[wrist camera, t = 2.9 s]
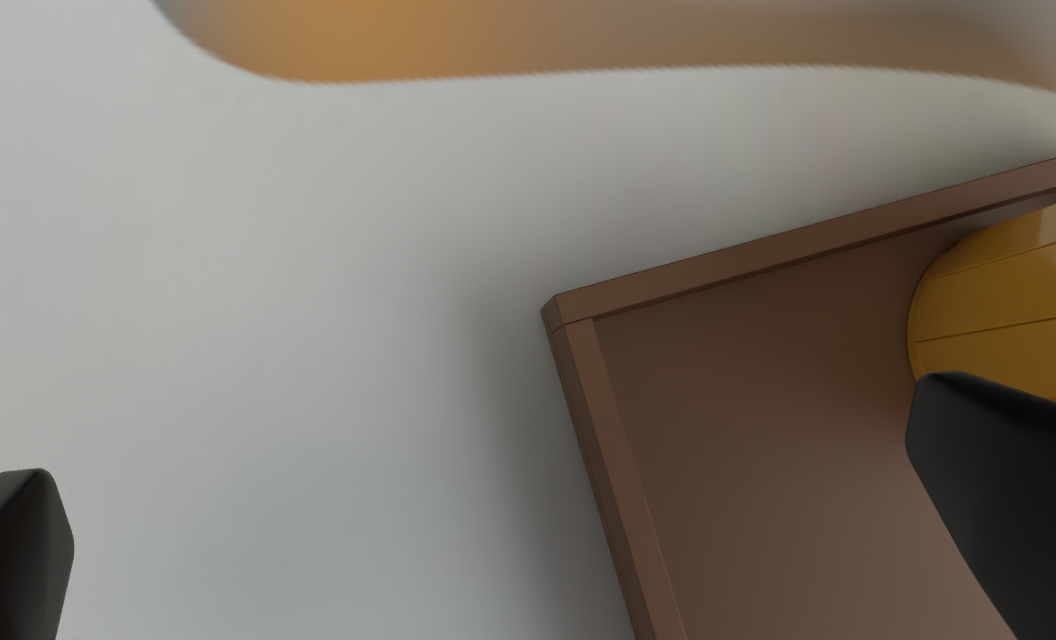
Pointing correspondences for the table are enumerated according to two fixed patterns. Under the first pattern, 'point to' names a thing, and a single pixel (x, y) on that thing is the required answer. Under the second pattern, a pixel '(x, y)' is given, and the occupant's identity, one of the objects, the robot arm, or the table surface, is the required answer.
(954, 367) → the cup
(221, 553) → the table surface
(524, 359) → the table surface
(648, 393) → the tray
